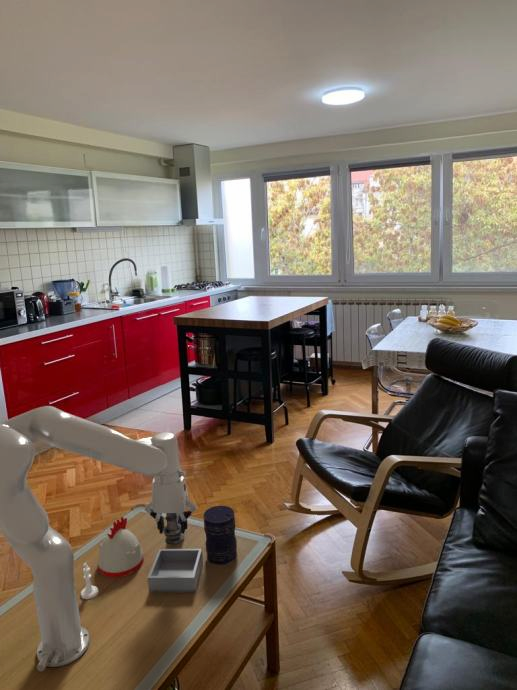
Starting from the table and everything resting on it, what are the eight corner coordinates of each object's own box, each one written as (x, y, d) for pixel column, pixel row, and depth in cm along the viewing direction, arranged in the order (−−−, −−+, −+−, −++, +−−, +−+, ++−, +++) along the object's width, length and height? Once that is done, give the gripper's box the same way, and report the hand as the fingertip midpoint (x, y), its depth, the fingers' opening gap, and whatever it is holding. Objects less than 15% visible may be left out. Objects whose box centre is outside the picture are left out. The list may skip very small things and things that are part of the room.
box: (195, 592, 150) (194, 577, 149) (149, 592, 151) (147, 577, 150) (203, 562, 163) (201, 548, 162) (160, 563, 164) (159, 549, 163)
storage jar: (201, 562, 163) (197, 520, 160) (213, 544, 173) (210, 503, 169) (231, 567, 160) (228, 524, 157) (241, 548, 169) (239, 507, 166)
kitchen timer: (152, 556, 168) (148, 514, 165) (123, 582, 156) (117, 538, 153) (119, 545, 175) (115, 505, 171) (89, 570, 163) (83, 527, 159)
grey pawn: (185, 533, 157) (182, 497, 154) (181, 545, 151) (177, 508, 148) (166, 533, 158) (163, 497, 155) (161, 545, 152) (157, 508, 149)
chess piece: (90, 585, 155) (86, 556, 153) (101, 590, 153) (97, 560, 151) (77, 595, 151) (72, 565, 149) (88, 601, 149) (84, 570, 147)
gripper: (199, 468, 153) (203, 523, 157) (141, 469, 154) (147, 524, 158) (194, 481, 145) (199, 538, 149) (134, 482, 147) (140, 538, 151)
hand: (172, 530), depth 154 cm, fingers closed on grey pawn, 5 cm apart
